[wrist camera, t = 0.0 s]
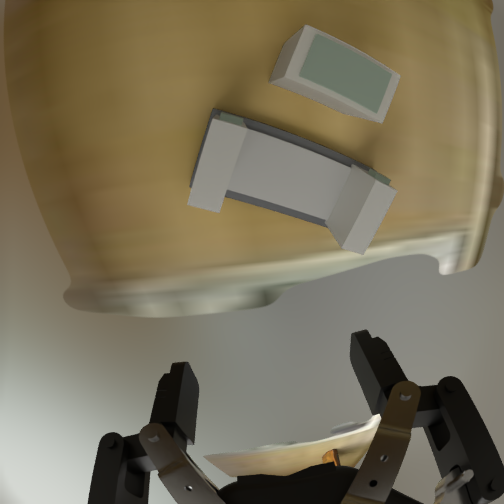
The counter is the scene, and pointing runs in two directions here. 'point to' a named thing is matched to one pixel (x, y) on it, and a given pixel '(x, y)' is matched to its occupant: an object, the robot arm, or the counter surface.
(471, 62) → the counter surface
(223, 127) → the rail
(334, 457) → the pancake mix bag
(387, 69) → the block
